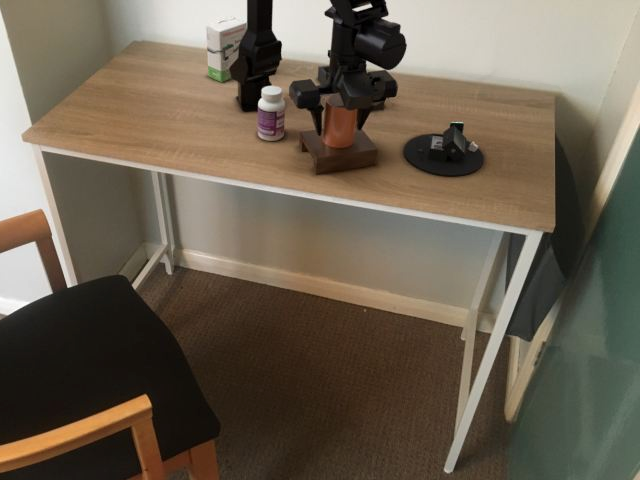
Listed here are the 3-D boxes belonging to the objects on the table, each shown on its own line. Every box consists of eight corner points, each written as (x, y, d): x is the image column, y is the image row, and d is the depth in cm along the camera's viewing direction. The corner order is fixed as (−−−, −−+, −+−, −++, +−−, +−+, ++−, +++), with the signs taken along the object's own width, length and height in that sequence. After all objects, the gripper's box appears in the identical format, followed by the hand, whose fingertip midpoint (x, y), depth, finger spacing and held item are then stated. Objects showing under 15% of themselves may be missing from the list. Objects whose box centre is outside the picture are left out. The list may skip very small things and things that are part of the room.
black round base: (482, 181, 111) (490, 155, 107) (399, 169, 114) (404, 143, 110) (483, 141, 121) (490, 115, 117) (407, 131, 124) (412, 106, 120)
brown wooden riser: (315, 174, 113) (316, 158, 110) (299, 147, 120) (299, 131, 117) (375, 165, 115) (378, 149, 112) (355, 139, 122) (357, 123, 119)
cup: (328, 150, 112) (332, 109, 107) (317, 134, 116) (321, 94, 111) (359, 145, 113) (364, 105, 108) (347, 130, 117) (351, 90, 112)
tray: (344, 114, 129) (345, 100, 127) (317, 79, 141) (318, 66, 139) (383, 109, 131) (385, 95, 129) (353, 75, 143) (355, 62, 141)
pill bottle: (281, 143, 121) (283, 97, 114) (255, 140, 122) (255, 95, 115) (286, 129, 125) (287, 85, 118) (260, 127, 125) (261, 82, 119)
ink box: (221, 83, 140) (219, 31, 132) (207, 76, 143) (204, 25, 135) (248, 71, 145) (248, 20, 136) (234, 65, 147) (233, 15, 139)
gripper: (310, 75, 96) (305, 161, 106) (419, 62, 99) (403, 147, 110) (289, 48, 103) (286, 130, 114) (390, 36, 107) (378, 118, 118)
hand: (338, 132), depth 114 cm, fingers open, 8 cm apart
